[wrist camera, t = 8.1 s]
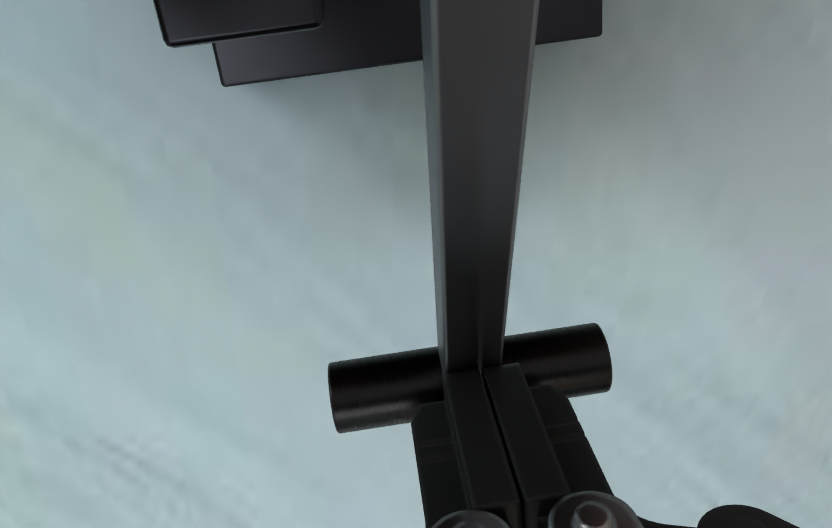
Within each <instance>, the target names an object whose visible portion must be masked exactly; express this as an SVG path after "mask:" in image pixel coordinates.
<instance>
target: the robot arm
mask: <svg viewBox="0 0 832 528" xmlns="http://www.w3.org/2000/svg"><path fill="white" fill-rule="evenodd" d="M442 384H443V393H444V401H438V402H431V403H425V404H419V406H418V408H417V411H416V413H415V415H414V418H413V420H412V422H411V427H412V434H413V441H414V447H415V454H416V461H417V468H418V475H419V482H420V489H421V496H422V502H423V509H424V516H425V524H426V528H695V527H686V526H676V525H667V524H660V523H656V522H652V521H648V520H646V519H643V518H641V517H639V516H637V515H636V514H635V512H634V511H633V510H632V508H631V507H630V506H629V505H628V504H626V503H625V502H624V501H622V500H621V499H619V498H617V497H615V496H614V494H613V493H612V491H611V489H610V486H609V484H608V482H607V480H606V478H605V476H604V474H603V472H602V469H601V467H600V465H599V463H598V461H597V459H596V457H595V455H594V452H593V450H592V448H591V446H590V444H589V442H588V440H587V438H586V437H585V435H584V431H583V429H582V427H581V425H580V423H579V421H578V420H577V416H576V414H575V412H574V410H573V408H572V406H571V404H570V401H569V399H568V398H567V397H565V396H564V395H563V394H562V393H560V392H559V391H558V390H557V389H555V388H554V387H553V386H552V385H550V384H548V385H541V386H535V387H529V386H528V384H527V381H526V379H525V376H524V374H523V371H522V369H521V366H520V364H519V363H512V364H506V365H499V366H492V367H486V368H481V374H480V371H479V369H474V370H467V371H460V372H454V373H447V374H442ZM697 528H799V527H797V526H795V525H793V524H791V523H789V522H787V521H784V520H782V519H780V518H778V517H776V516H774V515H772V514H770V513H768V512H765V511H763V510H761V509H758V508H754V507H750V506H745V505H725V506H720V507H717V508H714V509H712V510H710V511H708V512H707V513H706V514H705V515H704V516H702V518H701V519H700V521H699V523H698V526H697Z"/></svg>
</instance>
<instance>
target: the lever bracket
mask: <svg viewBox="0 0 832 528" xmlns="http://www.w3.org/2000/svg"><path fill="white" fill-rule="evenodd" d="M153 3H154V7H155V10H156V14H157V18H158V22H159V26H160V30H161V34H162V37H163V40H164V42H165V43H166V45H167V46H169V47H173V48H178V47H185V46H193V45H200V44H208V43H212V46H213V50H214V55H215V59H216V63H217V68H218V72H219V76H220V81H221V84H222V85H223V86H224V87H229V86H237V85H244V84H252V83H259V82H266V81H274V80H281V79H289V78H296V77H303V76H311V75H318V74H325V73H333V72H340V71H348V70H355V69H362V68H370V67H377V66H385V65H392V64H399V63H407V62H414V61H422V60H423V49H422V29H421V10H420V0H153ZM601 34H602V0H539V10H538V19H537V29H536V39H535V45H540V44H547V43H555V42H562V41H569V40H577V39H584V38H592V37H598V36H600V35H601Z"/></svg>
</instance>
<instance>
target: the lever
mask: <svg viewBox="0 0 832 528" xmlns="http://www.w3.org/2000/svg"><path fill="white" fill-rule="evenodd" d="M420 10H421V29H422V49H423V68H424V87H425V107H426V126H427V145H428V165H429V184H430V203H431V223H432V242H433V262H434V281H435V300H436V320H437V339H438V346H437V347H431V348H424V349H417V350H411V351H404V352H397V353H391V354H384V355H378V356H371V357H364V358H358V359H351V360H345V361H338V362H331V363H329V366H328V384H329V394H330V402H331V408H332V414H333V419H334V424H335V427H336V430H337V432H338V433H346V432H352V431H359V430H365V429H372V428H378V427H385V426H391V425H397V424H404V423H410V422H412V420H413V418H414V415H415V413H416V411H417V408H418V406H419V404H425V403H431V402H438V401H444V393H443V384H442V374H447V373H454V372H460V371H467V370H474V369H479V371H480V374H481V368H486V367H492V366H499V365H506V364H512V363H519V364H520V366H521V369H522V371H523V374H524V376H525V379H526V381H527V384H528V386H529V387H535V386H541V385H548V384H550V385H552V386H553V387H554V388H555V389H557V390H558V391H559V392H560V393H562V394H563V395H564V396H565V397H567V398H571V397H578V396H584V395H591V394H597V393H604V392H607V391H609V390H610V388H611V384H612V364H611V357H610V352H609V348H608V344H607V341H606V338H605V336H604V334H603V332H602V330H601V328H600V327H599V325H598V324H596V323H589V324H583V325H576V326H569V327H563V328H556V329H550V330H543V331H536V332H530V333H523V334H516V335H510V336H504V335H505V326H506V316H507V307H508V297H509V287H510V278H511V268H512V259H513V249H514V240H515V230H516V220H517V211H518V201H519V192H520V182H521V173H522V163H523V153H524V144H525V134H526V125H527V115H528V106H529V96H530V86H531V77H532V67H533V58H534V48H535V39H536V29H537V19H538V10H539V0H420Z"/></svg>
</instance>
